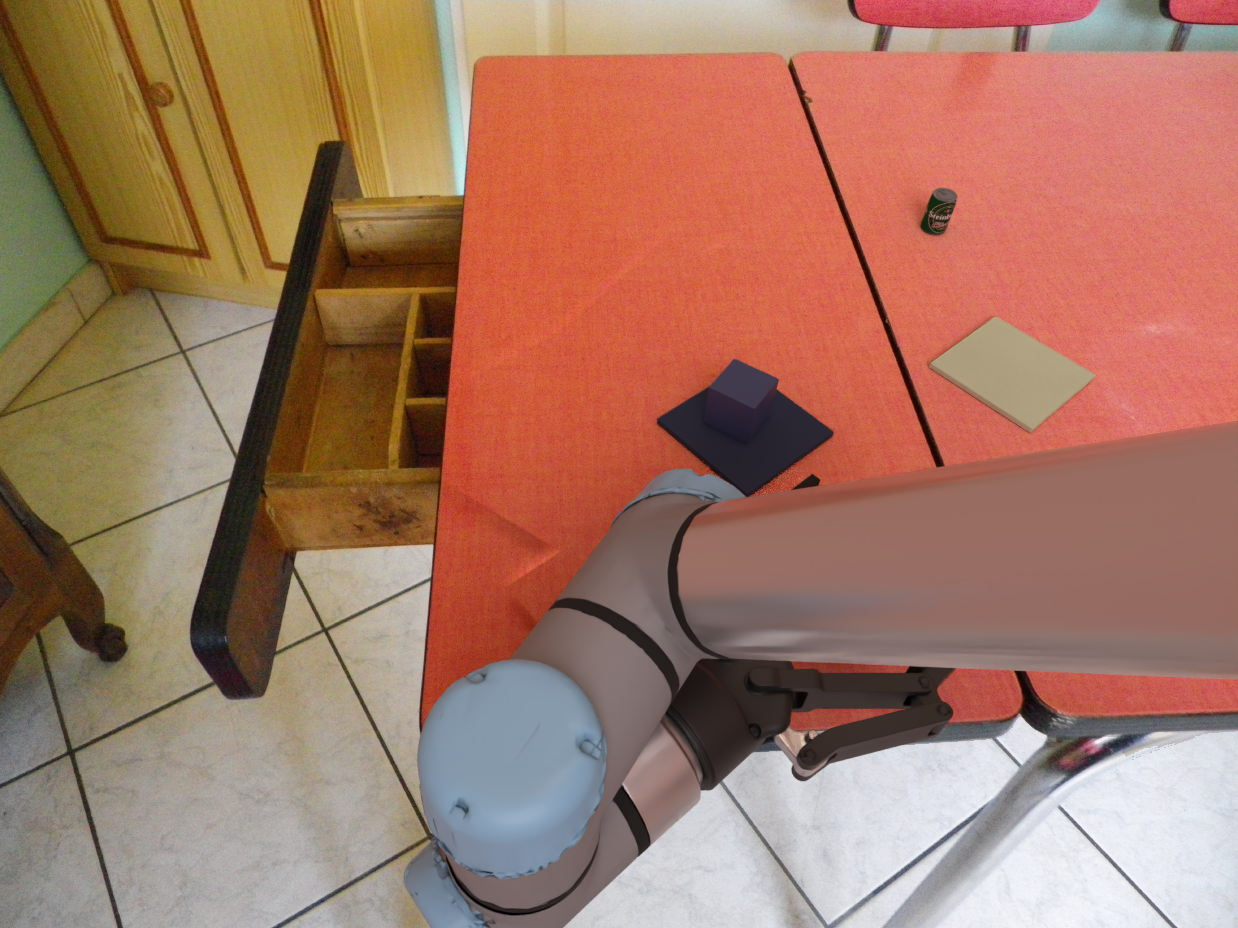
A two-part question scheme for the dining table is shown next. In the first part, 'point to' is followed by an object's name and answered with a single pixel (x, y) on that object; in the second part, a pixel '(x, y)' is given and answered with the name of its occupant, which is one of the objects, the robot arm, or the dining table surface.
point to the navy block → (740, 400)
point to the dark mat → (764, 454)
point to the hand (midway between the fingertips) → (888, 547)
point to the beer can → (939, 211)
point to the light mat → (1012, 373)
